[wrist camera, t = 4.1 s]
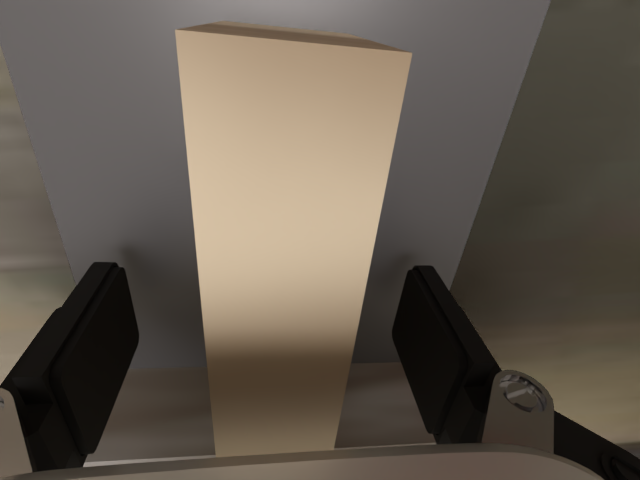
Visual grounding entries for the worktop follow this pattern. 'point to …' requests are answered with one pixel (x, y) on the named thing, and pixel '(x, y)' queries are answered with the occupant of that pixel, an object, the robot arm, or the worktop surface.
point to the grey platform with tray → (171, 155)
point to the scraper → (277, 252)
